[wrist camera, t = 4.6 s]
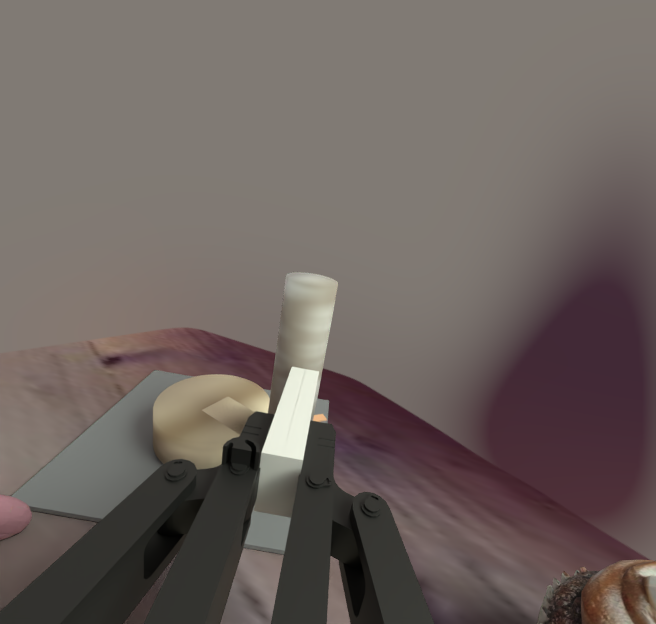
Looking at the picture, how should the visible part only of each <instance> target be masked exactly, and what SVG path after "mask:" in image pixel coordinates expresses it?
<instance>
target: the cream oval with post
mask: <svg viewBox="0 0 656 624" xmlns="http://www.w3.org/2000/svg"><path fill="white" fill-rule="evenodd" d="M337 287H338V282H336V281H335V280H334V279H331V278H329V277H326V276H322V275H318V274H312V273H303V272H293V273H288V274H287V275H286V281H285V288H284V295H283V303H282V310H281V318H280V326H279V333H278V341H277V349H276V356H275V363H274V371H273V378H272V386H271V393H270V398H269V396H268V394H267V393H266V392H265V391H264V390H263V389H262V388H261V387H260V386H258V385H257V384H255V383H253V382H251V381H249V380H246V379H244V378H240V377H236V376H230V375H219V374H217V375H202V376H196V377H191V378H188V379H184V380H182V381H179V382H177V383H175V384H173V385H171V386H169V387H168V388H166V389H165V390H164V391H163V392H162V393H161V394H160V395H159V396H158V397H157V399H156V401H155V403H154V406H153V448H154V452H155V454H156V456H157V457H158V459H159V460H160V461H161V462H162V463H163V464H165V463H166V462H169V461H172V460H175V459H185V460H189V461H191V462H192V463H194V464H195V466H196V468H197V469H208V468H214V467H217V466H219V465H221V464H222V452H223V445H224V444H225V443H226V442H227V441H229V440H230V439H232V438H236V437H239V436H240V434H241V433H242V430H243V428H244V426H245V423H246V421H247V419H248V417H249V416H251V415H252V414H253V413H254V412H256V411H258V412H263V413H269V414H274V415H275V413H276V410H277V407H278V404H279V402H280V399H281V396H282V393H283V390H284V388H285V385H286V382H287V379H288V376H289V373H290V371H291V368H292V367H297V368H303V369H308V370H314V371H319V375H318V381H317V386H316V392H315V397H314V403H313V408H312V414H311V420H312V421H313V418H314V412H315V407H316V402H317V396H318V391H319V385H320V380H321V374H322V369H323V363H324V357H325V352H326V347H327V342H328V336H329V331H330V326H331V320H332V315H333V309H334V304H335V298H336V293H337Z"/></svg>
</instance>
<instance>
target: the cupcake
mask: <svg viewBox="0 0 656 624" xmlns="http://www.w3.org/2000/svg"><path fill="white" fill-rule="evenodd" d="M537 624H656V561H651V560H625V561H619V562H617V563H615V564H613V565H610V566H608V567H606V568H604V569H603V570H601V571H587V570H586V569H585V568H584V567H580V572H579V571H578V570H576V572H575V574H574V576H572V577H570V576H569V575H568V574H567V573H566V572H565V571H564V572H563V573H562V578H561V584H560V582H559V581H558V580H557V579H555V578H554V580H553V585H552V586H551V585H549V586H547V592H546V596H545V597H544V600H543V603H542V606H541V609H540V613H539V617H538V622H537Z"/></svg>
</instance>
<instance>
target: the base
mask: <svg viewBox="0 0 656 624" xmlns="http://www.w3.org/2000/svg"><path fill="white" fill-rule="evenodd" d="M191 377H192V376H186V375H180V374H175V373H169V372H163V371H158V370H154V371H153V372H152V373H151V374H150V375H149V376H147V377H146V378H145V379H144V380H143V381H142V382H141V383H139V384H138V385H137V386H136V387H135V388H134V389H133V390H132V391H130V392H129V393H128V394H127V395H126V396H125V397H124V398H122V399H121V400H120V401H119V402H118V403H117V404H116V405H114V406H113V407H112V408H111V409H110V410H109V411H108V412H106V413H105V414H104V415H103V416H102V417H101V418H100V419H98V420H97V421H96V422H95V423H94V424H93V425H92V426H90V427H89V428H88V429H87V430H86V431H85V432H84V433H83V434H81V435H80V436H79V437H78V438H77V439H76V440H75V441H73V442H72V443H71V444H70V445H69V446H68V447H67V448H65V449H64V450H63V451H62V452H61V453H60V454H59V455H57V456H56V457H55V458H54V459H53V460H52V461H51V462H49V463H48V464H47V465H46V466H45V467H44V468H43V469H41V470H40V471H39V472H38V473H37V474H36V475H35V476H33V477H32V478H31V479H30V480H29V481H28V482H27V483H26V484H24V485H23V486H22V487H21V488H20V489H19V490H18V491H16V492H15V493H14V494H13V495H12V496H11V497H14V498H17V499H19V500H21V501H23V502H25V503H26V504H27V505H28V506H29V508H30V510H31V511H37V512H43V513H49V514H54V515H60V516H66V517H71V518H77V519H83V520H89V521H94V522H100V521H101V520H102V519H103V518H104V517H105V516H106V515H107V514H108V513H110V512H111V511H112V510H113V509H114V508H115V507H116V506H117V505H118V504H119V503H121V502H122V501H123V500H124V499H125V498H126V497H127V496H128V495H129V494H131V493H132V492H133V491H134V490H135V489H136V488H137V487H138V486H139V485H140V484H142V483H143V482H144V481H145V480H146V479H147V478H148V477H149V476H150V475H152V474H153V473H154V472H155V471H156V470H157V469H158V468H159V467H160V466H162V465H163V463H162V462H161V461H160V460H159V459H158V457H157V456H156V454H155V452H154V448H153V406H154V403H155V401H156V399H157V397H158V396H159V395H160V394H161V393H162V392H163V391H164V390H165V389H166V388H168V387H169V386H171V385H173V384H175V383H177V382H179V381H182V380H184V379H188V378H191ZM263 390H264V391H265V392H266V393H267V394H268V396H269V398H270V393H271V390H265V389H263ZM328 408H329V401H328V400H322V399H317V402H316V407H315V412H314V418H313V421H317V422H322V423H327V420H328ZM254 506H255V505H254ZM290 521H291V518H289V517H284V516H279V515H273V514H268V513H262V512H257V511H254V508H253V511H252V515H251V523H250V527H249V530H248V534H247V537H246V540H245V544H244V547H243V548H249V549H255V550H260V551H266V552H272V553H278V554H283V555H284V552H285V547H286V542H287V536H288V531H289V526H290Z"/></svg>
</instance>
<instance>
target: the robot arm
mask: <svg viewBox="0 0 656 624" xmlns="http://www.w3.org/2000/svg"><path fill="white" fill-rule="evenodd" d="M318 375H319V371H314V370H308V369H303V368H297V367H292V368H291V371H290V373H289V376H288V379H287V382H286V385H285V388H284V390H283V393H282V396H281V399H280V402H279V404H278V407H277V410H276V413H275V415H274V414H269V413H263V412H258V411H256V412H254V413H253V414H252V415H251V416H249V417H248V419H247V421H246V423H245V426H244V428H243V430H242V433H241V434H240V436H239V437H236V438H232V439H230V440H229V441H227V442H226V443H225V444H224V445H223V452H222V464H221V465H219V466H217V467H214V468H208V469H197V468H196V466H195V464H194V463H192V462H191V461H189V460H185V459H175V460H172V461H169V462H166V463H165V464H163V465H162V466H160V467H159V468H158V469H157V470H156V471H155V472H154V473H153V474H152V475H150V476H149V477H148V478H147V479H146V480H145V481H144V482H143V483H142V484H140V485H139V486H138V487H137V488H136V489H135V490H134V491H133V492H132V493H131V494H129V495H128V496H127V497H126V498H125V499H124V500H123V501H122V502H121V503H119V504H118V505H117V506H116V507H115V508H114V509H113V510H112V511H111V512H110V513H108V514H107V515H106V516H105V517H104V518H103V519H102V520H101V521H100V522H98V523H97V524H96V525H95V526H94V527H93V528H92V529H91V530H90V531H89V532H87V533H86V534H85V535H84V536H83V537H82V538H81V539H80V540H79V541H77V542H76V543H75V544H74V545H73V546H72V547H71V548H70V549H69V550H68V551H66V552H65V553H64V554H63V555H62V556H61V557H60V558H59V559H58V560H56V561H55V562H54V563H53V564H52V565H51V566H50V567H49V568H48V569H47V570H45V571H44V572H43V573H42V574H41V575H40V576H39V577H38V578H37V579H35V580H34V581H33V582H32V583H31V584H30V585H29V586H28V587H27V588H26V589H24V590H23V591H22V592H21V593H20V594H19V595H18V596H17V597H16V598H14V599H13V600H12V601H11V602H10V603H9V604H8V605H7V606H6V607H5V608H3V609H2V610H1V611H0V624H123V623H124V622H125V620H126V619H127V618H128V616H129V615H130V614H131V612H132V611H133V610H134V609H135V607H136V606H137V605H138V603H139V602H140V601H141V599H142V598H143V597H144V596H145V594H146V593H147V592H148V590H149V589H150V588H151V586H152V585H153V584H154V583H155V581H156V580H157V579H158V577H159V576H160V575H161V573H162V572H163V571H164V570H165V568H166V567H167V566H168V564H169V563H170V562H171V560H172V559H173V558H174V557H175V555H176V554H177V553H178V554H177V556H176V558H175V561H174V563H173V565H172V567H171V569H170V571H169V573H168V575H167V577H166V579H165V581H164V583H163V585H162V587H161V589H160V591H159V593H158V595H157V597H156V599H155V601H154V604H153V606H152V608H151V610H150V612H149V614H148V616H147V618H146V620H145V622H144V624H220V622H221V618H222V615H223V612H224V609H225V605H226V602H227V599H228V596H229V592H230V589H231V586H232V583H233V579H234V576H235V573H236V570H237V566H238V563H239V560H240V557H241V553H242V550H243V547H244V544H245V540H246V537H247V534H248V530H249V527H250V523H251V515H252V511H253V508H254V511H257V512H262V513H268V514H273V515H279V516H284V517H289V518H291V521H290V526H289V531H288V536H287V542H286V547H285V552H284V558H283V563H282V568H281V573H280V579H279V584H278V589H277V595H276V600H275V605H274V611H273V616H272V621H271V624H326V623H327V605H328V587H329V570H330V555H331V556H332V557H334V558H336V559H338V560H339V566H340V572H341V577H342V582H343V587H344V592H345V597H346V602H347V607H348V612H349V617H350V622H351V624H434V621H433V619H432V616H431V614H430V611H429V608H428V606H427V603H426V601H425V598H424V596H423V593H422V590H421V588H420V585H419V583H418V580H417V578H416V575H415V572H414V570H413V567H412V565H411V562H410V560H409V557H408V554H407V552H406V549H405V547H404V544H403V542H402V539H401V536H400V534H399V531H398V529H397V526H396V524H395V521H394V518H393V516H392V513H391V511H390V508H389V506H388V505H387V503H386V501H385V500H383V499H382V498H381V497H380V496H378V495H376V494H374V493H370V492H363V493H359V494H358V495H357V496H355V497H354V496H352V495H350V494H348V493H346V492H344V491H343V490H342V489H340V488H339V487H338V485H337V484H336V483H335V480H334V477H333V469H334V452H335V436H336V432H335V430H334V428H333V426H332V424H328V423H322V422H317V421H312V420H311V414H312V408H313V403H314V397H315V392H316V386H317V381H318ZM254 505H255V506H254ZM178 551H179V552H178Z"/></svg>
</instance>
